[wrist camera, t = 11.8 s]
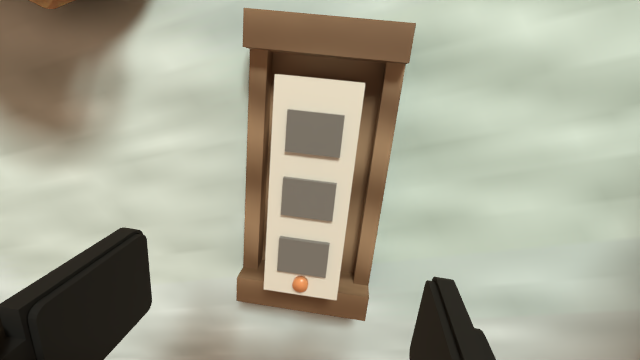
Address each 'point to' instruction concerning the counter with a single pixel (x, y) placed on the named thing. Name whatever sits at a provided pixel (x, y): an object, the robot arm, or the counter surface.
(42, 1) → the ceramic jug
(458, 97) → the counter surface
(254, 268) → the cradle
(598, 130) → the counter surface
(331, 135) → the strip
